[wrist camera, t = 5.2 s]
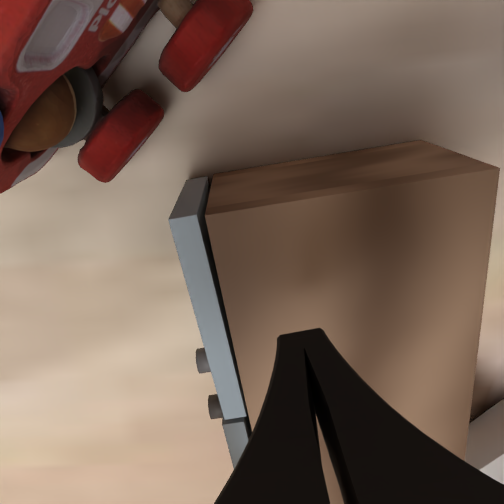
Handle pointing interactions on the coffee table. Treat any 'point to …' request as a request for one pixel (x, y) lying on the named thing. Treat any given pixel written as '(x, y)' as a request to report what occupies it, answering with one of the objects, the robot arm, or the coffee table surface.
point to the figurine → (487, 442)
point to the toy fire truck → (94, 75)
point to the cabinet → (359, 276)
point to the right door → (206, 295)
